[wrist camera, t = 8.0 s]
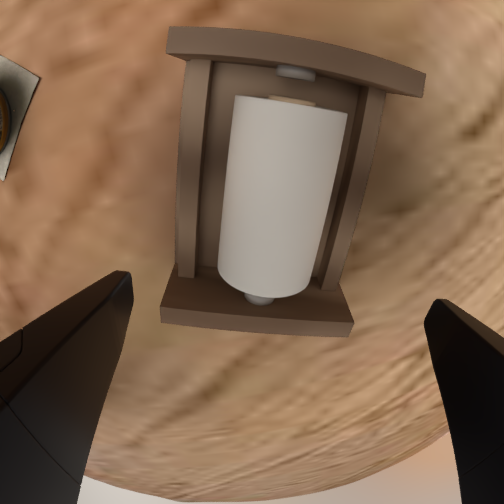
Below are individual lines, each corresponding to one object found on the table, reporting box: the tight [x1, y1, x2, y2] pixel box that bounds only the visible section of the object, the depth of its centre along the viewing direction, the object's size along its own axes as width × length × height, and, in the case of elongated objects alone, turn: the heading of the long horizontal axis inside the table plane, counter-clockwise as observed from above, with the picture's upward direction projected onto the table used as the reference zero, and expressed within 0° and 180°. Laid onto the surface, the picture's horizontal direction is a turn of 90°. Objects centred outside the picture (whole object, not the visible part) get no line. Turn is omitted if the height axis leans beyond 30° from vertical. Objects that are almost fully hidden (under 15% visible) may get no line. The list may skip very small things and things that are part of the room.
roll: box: [218, 95, 348, 298], centre depth 16 cm, size 9×5×5 cm, turn 173°
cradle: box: [160, 27, 426, 337], centre depth 16 cm, size 15×11×6 cm
